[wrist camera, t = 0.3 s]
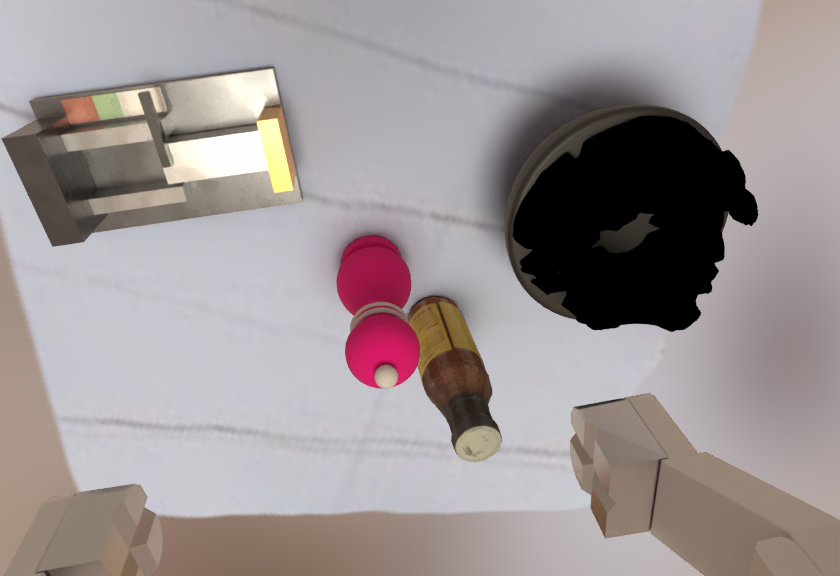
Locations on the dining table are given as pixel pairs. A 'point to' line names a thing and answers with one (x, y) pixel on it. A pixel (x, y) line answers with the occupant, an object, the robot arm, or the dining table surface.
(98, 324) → the dining table surface
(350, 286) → the pepper mill
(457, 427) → the sauce bottle
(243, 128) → the plunger
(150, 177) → the bench
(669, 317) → the coal bowl
